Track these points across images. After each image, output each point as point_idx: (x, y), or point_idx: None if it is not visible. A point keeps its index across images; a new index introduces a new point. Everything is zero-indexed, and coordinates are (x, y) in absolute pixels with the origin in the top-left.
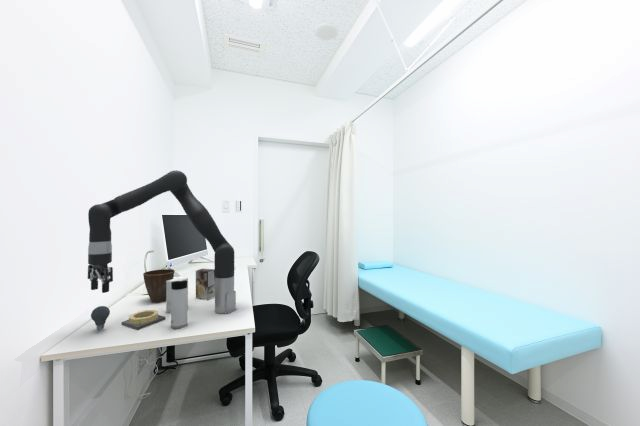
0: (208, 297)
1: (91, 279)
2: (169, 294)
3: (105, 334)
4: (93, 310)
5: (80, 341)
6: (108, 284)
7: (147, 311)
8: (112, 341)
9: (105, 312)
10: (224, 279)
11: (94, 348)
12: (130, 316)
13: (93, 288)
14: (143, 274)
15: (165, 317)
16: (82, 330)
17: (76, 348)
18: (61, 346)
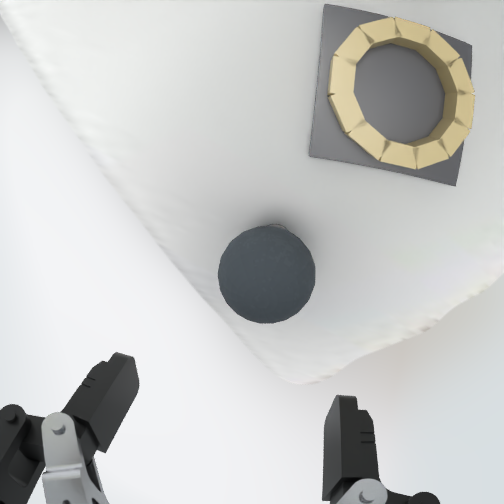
0: None
1: (94, 470)
2: None
3: (345, 256)
4: (250, 320)
5: (308, 321)
6: (375, 471)
7: (377, 42)
8: (430, 288)
9: (314, 283)
10: None
11: (410, 335)
12: (359, 138)
13: (131, 388)
14: None
15: (470, 46)
16: (197, 257)
17: (350, 351)
18: (283, 355)
